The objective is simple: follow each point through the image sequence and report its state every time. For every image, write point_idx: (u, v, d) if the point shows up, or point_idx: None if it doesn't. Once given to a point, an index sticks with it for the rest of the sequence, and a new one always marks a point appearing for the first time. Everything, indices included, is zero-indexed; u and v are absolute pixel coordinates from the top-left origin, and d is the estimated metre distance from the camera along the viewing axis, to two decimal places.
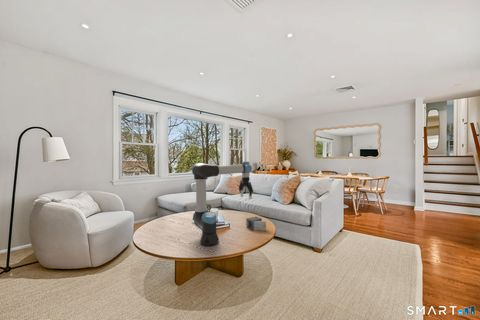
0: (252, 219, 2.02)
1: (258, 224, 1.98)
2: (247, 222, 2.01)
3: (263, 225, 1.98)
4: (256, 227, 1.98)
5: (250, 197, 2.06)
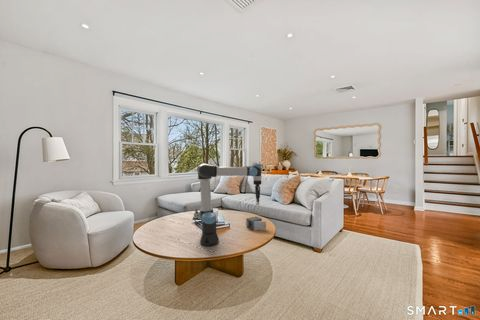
0: (252, 219, 2.02)
1: (258, 224, 1.98)
2: (247, 222, 2.01)
3: (263, 225, 1.98)
4: (256, 227, 1.98)
5: (257, 203, 1.97)
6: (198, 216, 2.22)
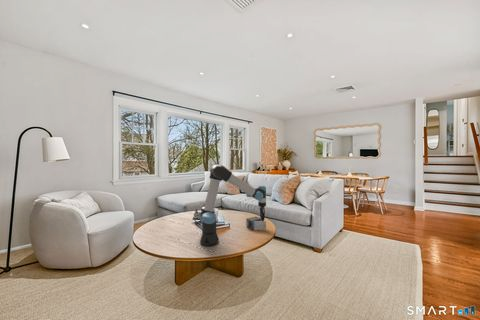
0: (252, 219, 2.02)
1: (258, 224, 1.98)
2: (247, 222, 2.01)
3: (263, 225, 1.98)
4: (256, 227, 1.98)
5: None
6: (198, 216, 2.22)
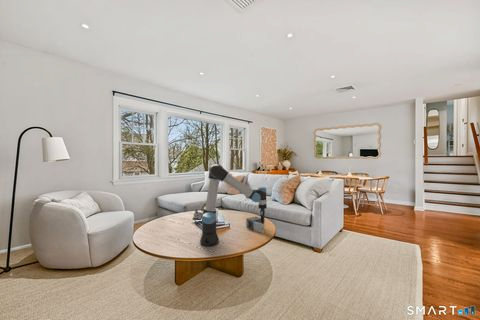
0: (252, 219, 2.02)
1: (257, 225, 1.94)
2: (247, 222, 2.01)
3: (261, 228, 1.91)
4: (255, 228, 1.96)
5: None
6: (198, 216, 2.22)
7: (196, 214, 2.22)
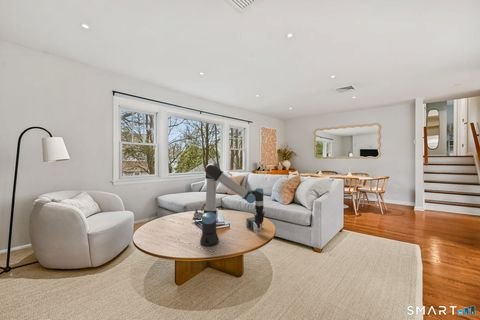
0: (252, 219, 2.02)
1: (254, 226, 1.93)
2: (247, 222, 2.01)
3: None
4: (253, 228, 1.95)
5: (259, 229, 1.90)
6: (198, 216, 2.22)
7: (196, 214, 2.22)
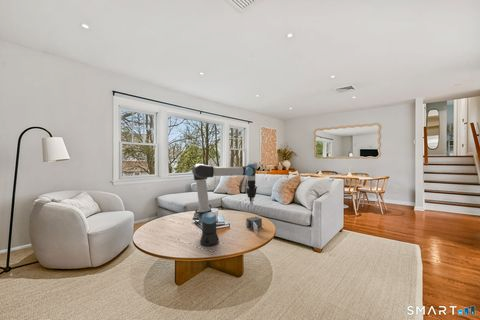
0: (252, 219, 2.02)
1: (254, 226, 1.93)
2: (247, 222, 2.01)
3: None
4: (253, 228, 1.95)
5: (250, 203, 2.00)
6: None
7: (196, 214, 2.22)
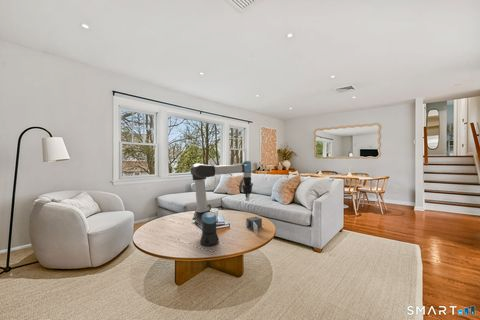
0: (252, 219, 2.02)
1: (254, 226, 1.93)
2: (247, 222, 2.01)
3: None
4: (253, 228, 1.95)
5: (246, 199, 2.06)
6: None
7: None
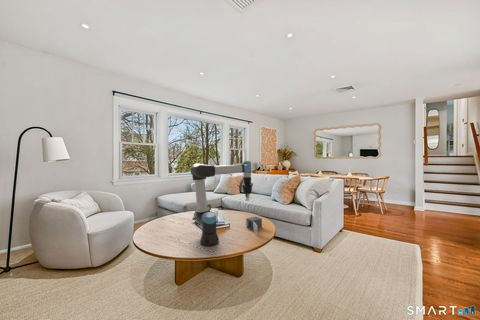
0: (252, 219, 2.02)
1: (254, 226, 1.93)
2: (247, 222, 2.01)
3: None
4: (253, 228, 1.95)
5: (246, 199, 2.06)
6: None
7: None
